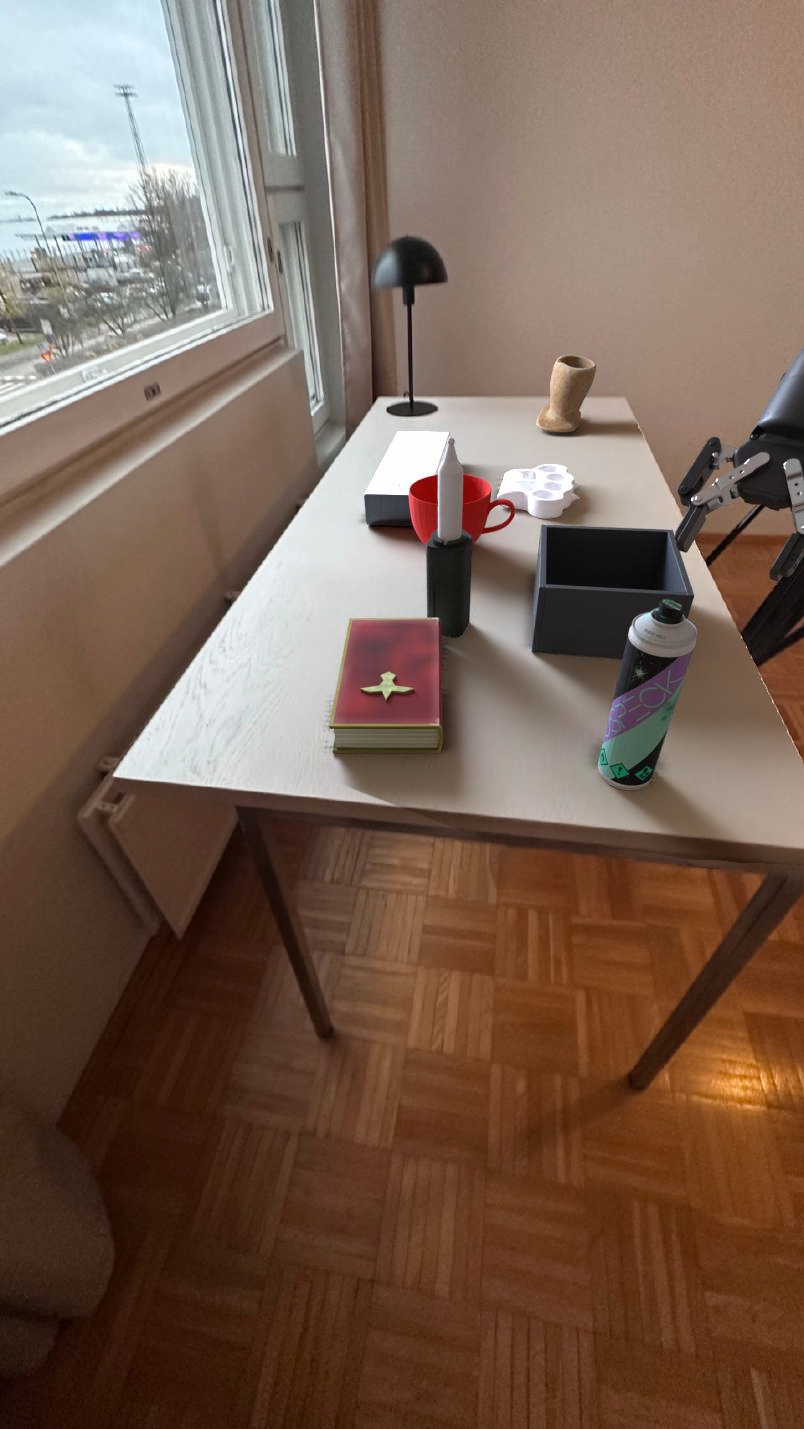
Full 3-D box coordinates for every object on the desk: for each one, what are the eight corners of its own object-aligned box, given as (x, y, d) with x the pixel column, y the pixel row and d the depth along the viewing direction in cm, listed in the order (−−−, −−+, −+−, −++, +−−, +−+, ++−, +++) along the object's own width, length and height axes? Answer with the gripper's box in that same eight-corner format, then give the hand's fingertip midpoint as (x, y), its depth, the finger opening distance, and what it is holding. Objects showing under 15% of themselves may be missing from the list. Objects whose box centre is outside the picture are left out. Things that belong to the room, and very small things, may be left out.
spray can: (594, 751, 68) (631, 585, 55) (646, 753, 67) (697, 586, 54) (601, 789, 64) (643, 620, 50) (657, 792, 63) (714, 621, 50)
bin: (657, 591, 92) (673, 529, 86) (674, 663, 79) (694, 595, 73) (534, 585, 95) (541, 524, 88) (531, 652, 82) (539, 587, 75)
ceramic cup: (504, 573, 98) (509, 511, 91) (400, 561, 102) (397, 501, 95) (517, 537, 107) (523, 478, 100) (422, 527, 111) (421, 470, 105)
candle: (424, 633, 86) (421, 443, 70) (437, 613, 90) (437, 429, 73) (460, 639, 84) (465, 447, 68) (471, 620, 88) (479, 432, 72)
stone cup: (584, 438, 144) (595, 364, 134) (531, 435, 147) (538, 362, 137) (590, 418, 154) (601, 349, 144) (541, 415, 157) (549, 347, 148)
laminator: (428, 530, 110) (428, 496, 106) (360, 528, 112) (357, 493, 108) (449, 462, 135) (450, 431, 131) (393, 460, 137) (392, 430, 133)
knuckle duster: (506, 478, 127) (580, 482, 124) (494, 515, 114) (577, 521, 111) (507, 461, 125) (583, 465, 122) (495, 497, 112) (580, 502, 109)
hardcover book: (441, 642, 84) (441, 615, 81) (442, 753, 68) (443, 724, 66) (352, 643, 85) (349, 616, 82) (333, 752, 69) (328, 724, 66)
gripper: (907, 438, 55) (807, 603, 57) (743, 409, 63) (660, 555, 65) (920, 384, 49) (807, 571, 50) (737, 360, 57) (644, 522, 58)
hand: (725, 562), depth 58 cm, fingers open, 8 cm apart
